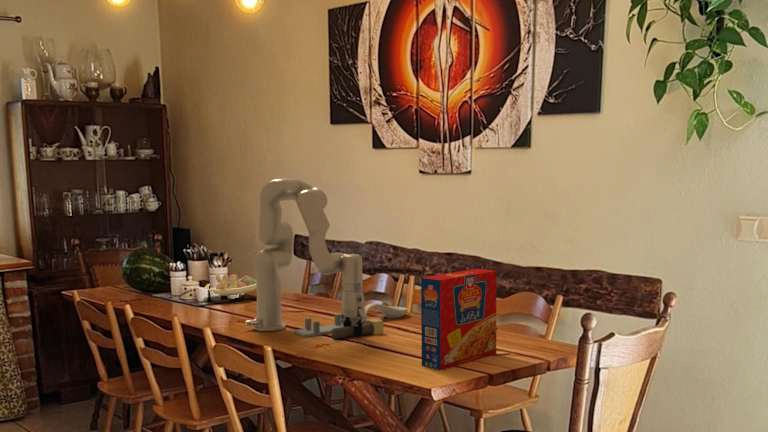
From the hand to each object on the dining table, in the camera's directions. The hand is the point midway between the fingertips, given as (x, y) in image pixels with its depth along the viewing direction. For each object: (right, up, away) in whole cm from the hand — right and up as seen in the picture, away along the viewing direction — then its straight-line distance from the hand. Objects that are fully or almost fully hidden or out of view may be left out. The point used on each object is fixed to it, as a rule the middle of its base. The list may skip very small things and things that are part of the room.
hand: (352, 334), depth 255 cm
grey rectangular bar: (+2, -1, +1) cm, 2 cm away
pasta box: (+36, -3, -33) cm, 49 cm away
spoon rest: (+11, +1, +32) cm, 34 cm away
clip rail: (-10, 0, +10) cm, 14 cm away
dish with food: (-63, +3, +82) cm, 103 cm away
